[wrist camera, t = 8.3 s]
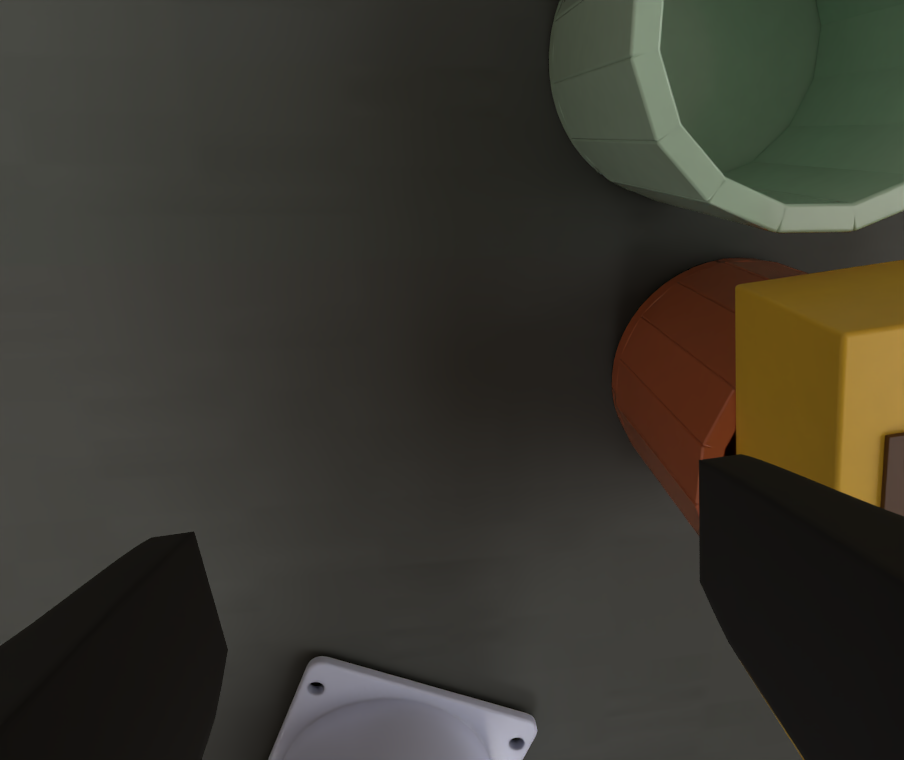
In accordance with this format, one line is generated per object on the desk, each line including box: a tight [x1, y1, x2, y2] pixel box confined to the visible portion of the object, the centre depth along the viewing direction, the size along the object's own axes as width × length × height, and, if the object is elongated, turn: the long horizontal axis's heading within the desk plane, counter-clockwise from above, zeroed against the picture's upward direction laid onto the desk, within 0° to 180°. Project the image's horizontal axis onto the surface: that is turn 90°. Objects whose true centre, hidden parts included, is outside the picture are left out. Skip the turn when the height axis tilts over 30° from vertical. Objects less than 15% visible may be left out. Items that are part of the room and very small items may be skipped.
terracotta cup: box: [612, 258, 808, 537], centre depth 18 cm, size 7×7×6 cm
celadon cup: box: [549, 0, 904, 233], centre depth 15 cm, size 7×7×7 cm
